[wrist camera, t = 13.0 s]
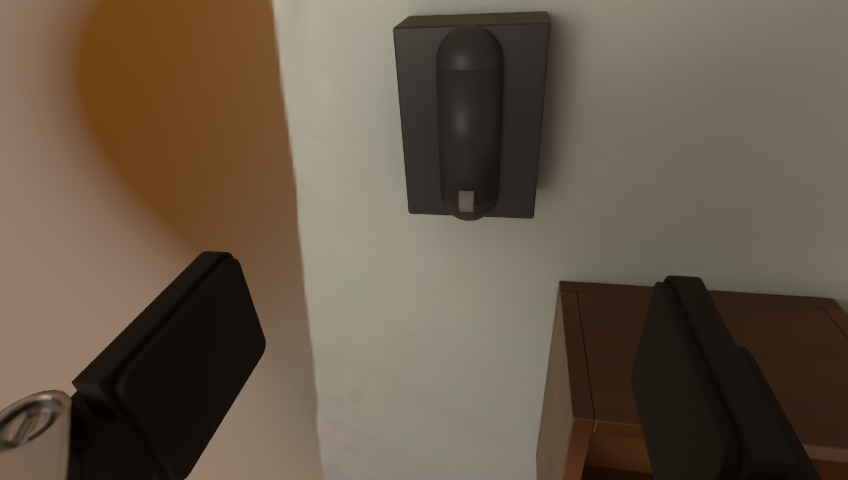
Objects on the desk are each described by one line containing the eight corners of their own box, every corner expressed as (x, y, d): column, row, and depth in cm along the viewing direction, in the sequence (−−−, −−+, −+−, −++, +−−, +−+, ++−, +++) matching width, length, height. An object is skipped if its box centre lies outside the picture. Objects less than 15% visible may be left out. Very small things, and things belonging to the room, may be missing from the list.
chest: (559, 281, 24) (572, 418, 17) (834, 298, 22) (973, 463, 15) (536, 454, 33) (539, 592, 26) (732, 480, 31) (792, 637, 24)
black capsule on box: (407, 16, 18) (382, 35, 15) (547, 10, 18) (552, 30, 14) (419, 187, 23) (401, 231, 19) (532, 190, 22) (534, 238, 18)
